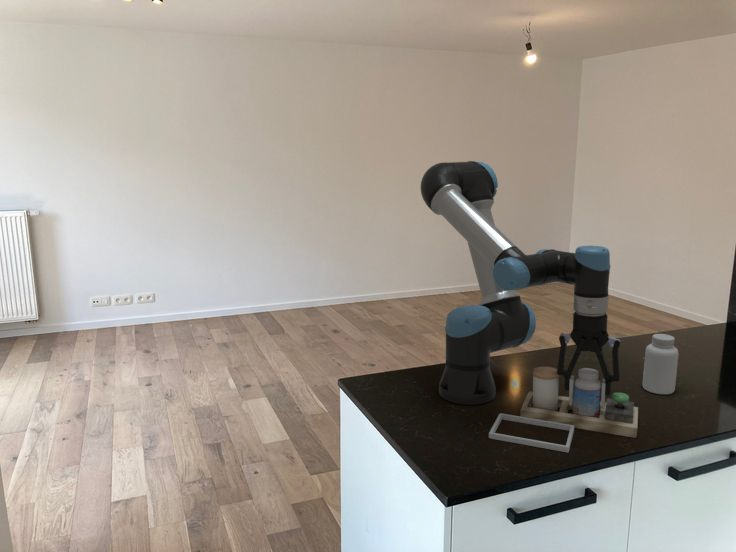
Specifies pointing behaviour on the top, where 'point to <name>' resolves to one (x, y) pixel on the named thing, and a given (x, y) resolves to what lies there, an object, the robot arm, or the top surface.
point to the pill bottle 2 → (660, 365)
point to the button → (620, 399)
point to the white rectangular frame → (529, 441)
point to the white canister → (545, 388)
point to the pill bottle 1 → (587, 393)
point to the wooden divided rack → (608, 421)
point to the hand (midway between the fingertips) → (586, 404)
